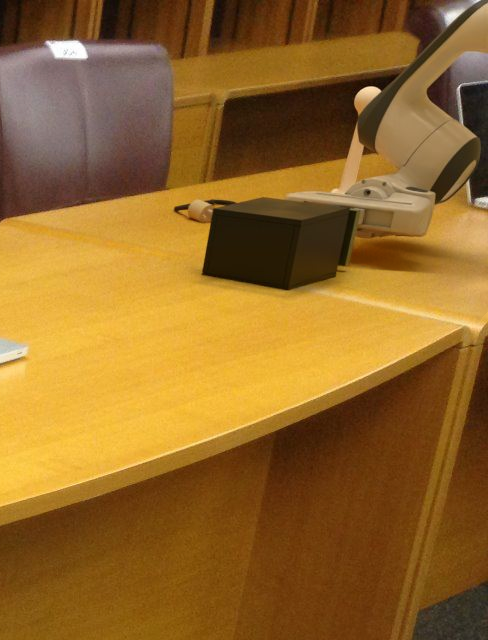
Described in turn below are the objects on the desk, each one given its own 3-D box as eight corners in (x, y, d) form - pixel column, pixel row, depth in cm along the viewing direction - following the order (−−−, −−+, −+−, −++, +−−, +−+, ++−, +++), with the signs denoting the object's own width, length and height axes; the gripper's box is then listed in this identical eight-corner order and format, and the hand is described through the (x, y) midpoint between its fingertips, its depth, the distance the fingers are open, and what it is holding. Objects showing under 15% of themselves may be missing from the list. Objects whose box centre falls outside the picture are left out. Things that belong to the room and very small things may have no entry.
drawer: (285, 250, 230) (296, 196, 226) (362, 261, 222) (374, 206, 219) (227, 266, 219) (238, 210, 216) (305, 278, 212) (317, 220, 208)
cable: (147, 206, 265) (151, 186, 264) (229, 205, 269) (233, 185, 267) (200, 225, 252) (204, 204, 250) (285, 223, 256) (290, 202, 254)
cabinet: (250, 264, 225) (263, 196, 221) (335, 277, 217) (350, 207, 212) (200, 278, 216) (213, 208, 212) (287, 292, 208) (301, 220, 204)
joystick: (326, 200, 274) (355, 82, 265) (371, 204, 272) (402, 85, 262) (330, 211, 265) (360, 89, 255) (377, 215, 262) (410, 92, 253)
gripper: (310, 178, 237) (267, 187, 229) (447, 193, 224) (407, 203, 215) (301, 220, 240) (259, 230, 232) (437, 237, 227) (397, 249, 218)
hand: (332, 217), depth 224 cm, fingers closed, pressing on drawer
